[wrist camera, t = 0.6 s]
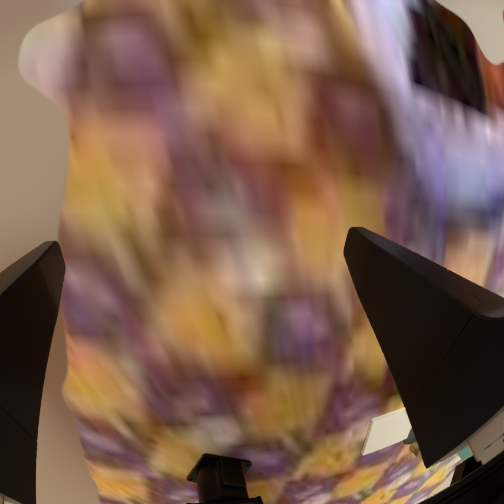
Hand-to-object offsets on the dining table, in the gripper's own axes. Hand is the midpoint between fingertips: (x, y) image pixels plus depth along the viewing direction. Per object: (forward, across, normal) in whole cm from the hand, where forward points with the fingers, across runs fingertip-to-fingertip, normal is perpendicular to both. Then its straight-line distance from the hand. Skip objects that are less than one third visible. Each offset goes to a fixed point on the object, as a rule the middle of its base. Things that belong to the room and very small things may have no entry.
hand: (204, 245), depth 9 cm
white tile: (+5, -24, +35) cm, 43 cm away
